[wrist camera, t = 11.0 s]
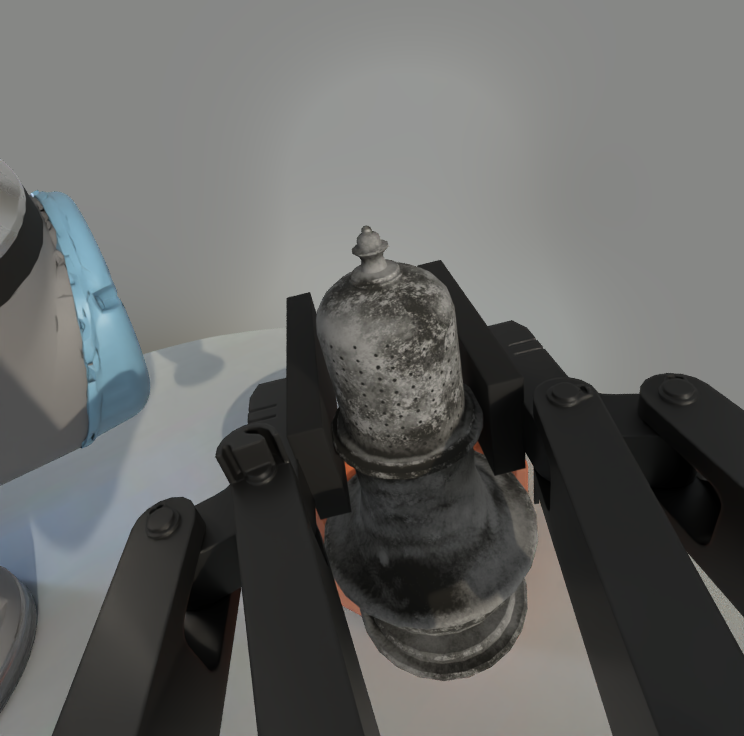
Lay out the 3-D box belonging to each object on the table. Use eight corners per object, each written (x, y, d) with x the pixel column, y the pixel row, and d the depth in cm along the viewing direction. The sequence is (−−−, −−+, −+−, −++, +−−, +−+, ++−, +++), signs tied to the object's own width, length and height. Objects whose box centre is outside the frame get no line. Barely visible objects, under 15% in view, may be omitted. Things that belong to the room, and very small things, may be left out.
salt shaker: (465, 488, 19) (424, 160, 12) (582, 621, 14) (625, 208, 7) (325, 563, 17) (185, 238, 10) (403, 739, 13) (244, 362, 6)
